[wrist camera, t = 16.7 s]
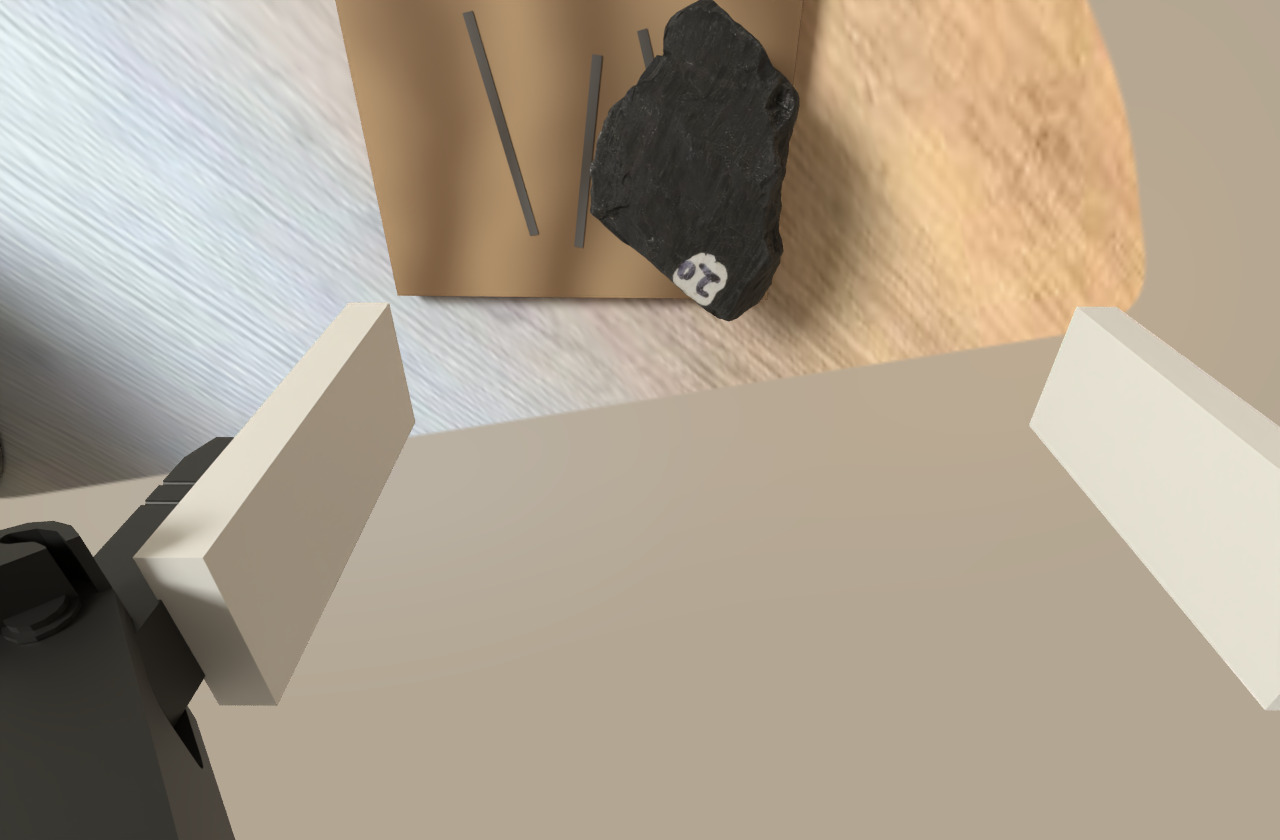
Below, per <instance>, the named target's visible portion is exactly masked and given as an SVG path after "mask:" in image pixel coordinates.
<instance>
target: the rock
mask: <svg viewBox="0 0 1280 840" xmlns="http://www.w3.org/2000/svg"><path fill="white" fill-rule="evenodd" d="M798 110H799V95H798V93H797V91H796V90H795V89H794V87H793V86H792V84H791V83H790V82H789V80H788V79H787V77H786V76H785V75H784V74H783V73H781V72H780V71H779V70H777V69H776V68H775V67H773V65H772V63H771V61H770V59H769V57H768V55H767V53H766V50H765V49H764V47H763V46H762V44H761V43H760V41H759V40H757V39H756V38H755V37H754V36H753V35H752V34H751V33H750V32H748V31H747V30H746V29H745V28H744V27H743V26H742V25H740V24H739V23H737V22H735V21H734V20H733V19H732V18H731V16H730V15H729V14H728V13H727V12H726V11H725V10H724V9H722V8H721V7H720V6H719V5H718V4H717V3H716V2H715V1H714V0H698V1H696V2H694V3H692V4H690V5H688V6H687V7H685V8H683V9H682V10H680V11H678V12H676V13H675V14H674V15H673V16H672V17H671V18H670V19H669V21H668V23H667V25H666V26H665V30H664V37H663V55H662V56H661V55H657V56H656V57H655V58H654V59H653V61H652V62H651V63H650V65H649V66H648V67H647V68H646V70H645V71H644V72H643V74H642V75H641V76H640V78H639V80H638V82H637V84H636V85H634V86H632V87H631V88H630V89H629V90H628V91H627V93H626V95H625V96H624V97H623V98H622V99H620V100H619V101H618V102H616V103H615V104H614V105H613V106H612V107H611V108H610V110H609V111H608V115H607V117H606V119H605V120H604V122H603V127H602V130H601V132H600V133H599V135H598V139H597V143H596V151H595V157H594V160H593V161H592V163H591V167H590V175H591V180H592V185H591V189H590V195H591V206H590V213H591V214H592V215H593V216H594V217H595V218H597V219H598V220H599V221H600V222H601V223H602V224H603V225H604V226H605V227H606V228H607V229H608V230H609V231H611V232H612V233H613V234H614V235H615V236H616V237H617V238H618V239H619V240H621V241H622V242H623V243H625V244H627V245H629V246H630V247H632V248H633V249H634V250H636V251H637V252H638V253H640V254H641V255H642V256H644V257H645V258H646V259H647V260H648V261H649V262H651V263H652V264H653V265H654V266H655V267H656V268H657V269H658V270H659V271H660V272H661V273H662V274H664V275H665V276H666V277H667V278H669V280H670V281H671V282H673V283H674V284H675V285H676V286H677V287H678V288H679V289H681V290H682V291H683V292H684V293H685V294H686V295H687V296H689V297H691V298H692V299H694V300H695V301H696V302H697V303H698V304H699V305H700V306H701V307H702V308H704V309H705V310H706V311H708V312H710V313H711V314H713V315H714V316H716V317H717V318H719V319H723V320H726V321H732V320H734V319H737V318H738V317H739V316H741V315H742V314H743V313H744V312H746V311H747V310H748V309H750V308H751V307H753V306H754V305H756V304H758V303H759V302H760V300H761V299H762V298H763V297H764V295H765V293H766V291H767V290H768V288H769V287H770V285H771V283H772V278H773V275H774V273H775V271H776V269H777V267H778V265H779V264H780V257H781V255H782V253H783V244H782V239H781V236H780V234H779V229H778V228H779V217H780V212H781V207H782V204H781V188H782V181H783V179H784V177H785V173H786V162H787V157H788V148H789V140H790V138H791V135H792V132H793V127H794V124H795V122H796V119H797V115H798Z"/></svg>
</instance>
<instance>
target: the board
mask: <svg viewBox="0 0 1280 840" xmlns="http://www.w3.org/2000/svg"><path fill="white" fill-rule="evenodd" d="M335 1H336V6H337V11H338V15H339V20H340V25H341V30H342V34H343V39H344V44H345V48H346V53H347V58H348V63H349V67H350V72H351V77H352V81H353V86H354V91H355V96H356V100H357V105H358V110H359V115H360V119H361V124H362V129H363V133H364V138H365V143H366V148H367V152H368V157H369V162H370V167H371V171H372V176H373V181H374V185H375V190H376V195H377V200H378V204H379V209H380V214H381V219H382V223H383V228H384V233H385V237H386V242H387V247H388V252H389V256H390V261H391V266H392V271H393V275H394V280H395V285H396V289H397V294H398V295H403V296H497V297H591V298H684V299H692V298H691V297H689V296H687V295H686V294H685V293H684V292H683V291H682V290H681V289H679V288H678V287H677V286H676V285H675V284H674V283H673V282H671V281H670V280H669V278H667V277H666V276H665V275H664V274H662V273H661V272H660V271H659V270H658V269H657V268H656V267H655V266H654V265H653V264H652V263H651V262H649V261H648V260H647V259H646V258H645V257H644V256H642V255H641V254H640V253H638V252H637V251H636V250H634V249H633V248H632V247H630V246H629V245H627V244H625V243H623V242H622V241H621V240H619V239H618V238H617V237H616V236H615V235H614V234H613V233H612V232H611V231H609V230H608V229H607V228H606V227H605V226H604V225H603V224H602V223H601V222H600V221H599V220H598V219H597V218H595V217H594V216H593V215H592V214H591V213H590V206H591V195H590V189H591V185H592V180H591V175H590V167H591V163H592V161H593V160H594V157H595V151H596V143H597V139H598V135H599V133H600V132H601V130H602V127H603V122H604V120H605V119H606V117H607V115H608V111H609V110H610V108H611V107H612V106H613V105H614V104H615V103H616V102H618V101H619V100H620V99H622V98H623V97H624V96H625V95H626V93H627V91H628V90H629V89H630V88H631V87H632V86H634V85H636V84H637V82H638V80H639V78H640V76H641V75H642V74H643V72H644V71H645V70H646V68H647V67H648V66H649V65H650V63H651V62H652V61H653V59H654V58H655V57H656V56H657V55H661V56H662V55H663V37H664V30H665V26H666V25H667V23H668V21H669V19H670V18H671V17H672V16H673V15H674V14H675V13H676V12H678V11H680V10H682V9H683V8H685V7H687V6H688V5H690V4H692V3H694V2H696V1H698V0H335ZM714 1H715V2H716V3H717V4H718V5H719V6H720V7H721V8H722V9H724V10H725V11H726V12H727V13H728V14H729V15H730V16H731V18H732V19H733V20H734V21H735V22H737V23H739V24H740V25H742V26H743V27H744V28H745V29H746V30H747V31H748V32H750V33H751V34H752V35H753V36H754V37H755V38H756V39H757V40H759V41H760V43H761V44H762V46H763V47H764V49H765V50H766V53H767V55H768V57H769V59H770V61H771V63H772V65H773V67H775V68H776V69H777V70H779V71H780V72H781V73H783V74H784V75H785V76H786V77H787V79H788V80H789V82H790V83H791V84H792V86H793V80H794V72H795V64H796V55H797V47H798V39H799V31H800V22H801V14H802V6H803V0H714ZM767 296H768V290H767V291H766V293H765V295H764V297H763V298H762V299H767Z"/></svg>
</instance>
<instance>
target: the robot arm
mask: <svg viewBox="0 0 1280 840" xmlns="http://www.w3.org/2000/svg"><path fill="white" fill-rule="evenodd" d="M414 424H415V418H414V414H413V409H412V405H411V400H410V396H409V391H408V387H407V382H406V378H405V373H404V368H403V364H402V359H401V355H400V350H399V346H398V341H397V337H396V332H395V328H394V323H393V319H392V314H391V310H390V305H389V303H348V304H347V305H346V306H345V308H344V309H343V310H342V311H341V312H340V314H339V315H338V316H337V317H336V318H335V319H334V321H333V322H332V323H331V324H330V325H329V327H328V328H327V329H326V330H325V331H324V332H323V334H322V335H321V336H320V337H319V338H318V340H317V341H316V342H315V343H314V344H313V345H312V347H311V348H310V349H309V350H308V351H307V353H306V354H305V355H304V356H303V357H302V358H301V360H300V361H299V362H298V363H297V364H296V365H295V367H294V368H293V369H292V370H291V371H290V373H289V374H288V375H287V376H286V377H285V378H284V380H283V381H282V382H281V383H280V384H279V386H278V387H277V388H276V389H275V390H274V391H273V393H272V394H271V395H270V396H269V397H268V399H267V400H266V401H265V402H264V403H263V404H262V406H261V407H260V408H259V409H258V410H257V412H256V413H255V414H254V415H253V416H252V417H251V419H250V420H249V421H248V422H247V423H246V424H245V426H244V427H243V428H242V429H241V430H240V432H239V433H238V434H237V435H236V436H235V437H216V438H214V439H213V440H211V441H210V442H208V443H206V444H205V445H203V446H202V447H200V448H198V449H197V450H195V451H194V452H192V453H191V454H189V455H187V456H186V457H184V458H183V460H182V461H181V462H180V463H179V464H178V465H177V466H176V467H175V468H174V469H173V471H172V472H171V473H170V474H169V475H168V476H167V477H166V478H165V479H164V480H163V482H164V483H163V485H159V486H158V487H157V488H156V489H155V490H154V491H153V492H152V494H151V495H150V496H149V497H148V498H147V499H146V500H145V501H146V504H145V505H141V506H140V507H139V508H138V509H137V510H136V511H135V512H134V513H133V514H132V515H131V516H130V518H129V519H128V520H127V521H126V522H125V523H124V524H123V525H122V526H121V528H120V529H119V530H118V531H117V532H116V533H115V534H114V535H113V536H112V537H111V538H110V540H109V541H108V542H107V543H106V544H105V545H104V546H103V547H102V549H100V550H99V552H98V553H97V554H96V555H95V556H94V557H93V556H92V555H91V553H90V551H89V550H88V548H87V547H86V545H85V544H84V542H83V540H82V539H81V537H80V536H79V534H78V533H77V532H76V531H75V529H74V528H73V527H72V526H71V525H67V524H63V523H59V522H55V521H47V522H32V523H26V524H22V525H19V526H15V527H11V528H7V529H4V530H0V840H235V838H234V835H233V832H232V829H231V825H230V823H229V820H228V816H227V813H226V810H225V807H224V804H223V801H222V798H221V795H220V792H219V789H218V786H217V782H216V779H215V777H214V773H213V770H212V767H211V764H210V761H209V758H208V755H207V752H206V749H205V746H204V743H203V740H202V737H201V733H200V730H199V727H198V724H197V721H196V719H195V717H194V716H193V714H192V712H191V711H190V709H189V708H188V706H187V705H188V704H189V702H190V700H191V699H192V697H193V695H194V694H195V692H196V690H197V689H198V687H199V685H200V684H201V682H202V681H203V679H204V680H205V681H206V683H207V685H208V686H209V688H210V690H211V691H212V693H213V695H214V697H215V698H216V700H217V702H218V703H219V705H278V703H279V701H280V699H281V697H282V695H283V693H284V691H285V688H286V687H287V685H288V683H289V681H290V678H291V676H292V674H293V672H294V670H295V668H296V666H297V664H298V662H299V660H300V658H301V656H302V654H303V652H304V650H305V648H306V646H307V644H308V641H309V639H310V637H311V635H312V633H313V631H314V629H315V627H316V625H317V623H318V621H319V619H320V617H321V615H322V612H323V611H324V608H325V607H326V604H327V602H328V600H329V598H330V596H331V594H332V592H333V590H334V588H335V586H336V584H337V582H338V580H339V578H340V576H341V574H342V572H343V569H344V567H345V565H346V563H347V561H348V559H349V557H350V555H351V553H352V551H353V549H354V547H355V545H356V543H357V541H358V539H359V537H360V535H361V533H362V530H363V528H364V526H365V524H366V522H367V520H368V518H369V516H370V514H371V512H372V510H373V508H374V506H375V504H376V502H377V500H378V498H379V496H380V494H381V491H382V489H383V487H384V485H385V483H386V481H387V479H388V477H389V475H390V473H391V471H392V469H393V467H394V464H395V463H396V461H397V459H398V456H399V454H400V452H401V450H402V448H403V446H404V444H405V442H406V440H407V438H408V436H409V434H410V432H411V430H412V428H413V426H414ZM1029 426H1030V427H1031V428H1032V429H1033V431H1034V432H1035V433H1036V434H1037V436H1038V437H1039V438H1040V439H1041V440H1042V442H1043V443H1044V444H1045V445H1046V446H1047V448H1048V449H1049V450H1050V451H1051V452H1052V454H1053V455H1054V456H1055V457H1056V458H1057V460H1058V461H1059V462H1060V463H1061V464H1062V466H1063V467H1064V468H1065V469H1066V471H1067V472H1068V473H1069V474H1070V475H1071V477H1072V478H1073V479H1074V480H1075V481H1076V483H1077V484H1078V485H1079V486H1080V487H1081V489H1082V490H1083V491H1084V492H1085V493H1086V495H1087V496H1088V497H1089V498H1090V499H1091V501H1092V502H1093V503H1094V504H1095V505H1096V507H1097V508H1098V509H1099V510H1100V512H1101V513H1102V514H1103V515H1104V516H1105V518H1106V519H1107V520H1108V521H1109V522H1110V524H1111V525H1112V526H1113V527H1114V528H1115V530H1116V531H1117V532H1118V533H1119V535H1121V537H1122V538H1123V539H1124V541H1125V542H1126V543H1127V544H1128V545H1129V546H1130V548H1131V549H1132V550H1133V551H1134V552H1135V554H1136V555H1137V556H1138V557H1139V559H1140V560H1141V561H1142V562H1143V563H1144V565H1145V566H1146V567H1147V568H1148V569H1149V571H1150V572H1151V573H1152V574H1153V576H1154V577H1155V578H1156V579H1157V580H1158V582H1159V583H1160V584H1161V585H1162V586H1163V587H1164V589H1165V590H1166V591H1167V592H1168V594H1169V595H1170V596H1171V597H1172V598H1173V599H1174V601H1175V602H1176V603H1177V605H1178V606H1179V607H1180V608H1181V609H1182V611H1183V612H1184V613H1185V614H1186V615H1187V616H1188V618H1189V619H1190V620H1191V621H1192V622H1193V624H1194V625H1195V626H1196V627H1197V629H1198V630H1199V631H1200V632H1201V633H1202V634H1203V636H1204V637H1205V638H1206V639H1207V641H1208V642H1209V643H1210V644H1211V645H1212V647H1213V648H1214V649H1215V650H1216V652H1217V653H1218V654H1219V655H1220V656H1221V657H1222V659H1223V660H1224V661H1225V662H1226V664H1227V665H1228V666H1229V667H1230V668H1231V670H1232V671H1233V672H1234V673H1235V675H1236V676H1237V677H1238V678H1239V679H1240V681H1241V682H1242V683H1243V684H1244V685H1245V687H1246V688H1247V689H1248V690H1249V691H1250V692H1251V694H1252V695H1253V696H1254V697H1255V699H1256V700H1257V701H1258V702H1259V703H1260V705H1261V706H1262V707H1263V708H1264V710H1280V427H1279V426H1278V425H1276V424H1275V423H1274V422H1272V421H1271V420H1270V419H1268V418H1267V417H1265V416H1264V415H1263V414H1261V413H1260V412H1259V411H1257V410H1256V409H1255V408H1253V407H1252V406H1251V405H1249V404H1248V403H1247V402H1245V401H1244V400H1242V399H1241V398H1240V397H1238V396H1237V395H1235V394H1234V393H1233V392H1232V391H1230V390H1229V389H1227V388H1226V387H1225V386H1223V385H1222V384H1221V383H1219V382H1218V381H1216V380H1215V379H1214V378H1213V377H1211V376H1210V375H1208V374H1207V373H1206V372H1204V371H1203V370H1202V369H1200V368H1199V367H1198V366H1196V365H1195V364H1193V363H1192V362H1191V361H1189V360H1188V359H1187V358H1185V357H1184V356H1183V355H1181V354H1180V353H1179V352H1177V351H1176V350H1174V349H1173V348H1172V347H1170V346H1169V345H1168V344H1166V343H1165V342H1163V341H1162V340H1161V339H1159V338H1158V337H1157V336H1155V335H1154V334H1153V333H1151V332H1150V331H1149V330H1147V329H1146V328H1145V327H1143V326H1142V325H1140V324H1139V323H1138V322H1136V321H1135V320H1134V319H1132V318H1131V317H1130V316H1128V315H1127V314H1126V313H1124V312H1123V311H1121V310H1120V309H1119V308H1117V307H1076V310H1075V312H1074V315H1073V317H1072V320H1071V322H1070V325H1069V327H1068V330H1067V332H1066V335H1065V337H1064V340H1063V342H1062V345H1061V347H1060V350H1059V352H1058V355H1057V357H1056V360H1055V362H1054V365H1053V367H1052V369H1051V372H1050V375H1049V377H1048V379H1047V382H1046V384H1045V387H1044V389H1043V392H1042V394H1041V397H1040V399H1039V402H1038V404H1037V407H1036V409H1035V412H1034V414H1033V417H1032V419H1031V422H1030V424H1029ZM2 469H3V456H2V450H1V446H0V478H1V474H2Z"/></svg>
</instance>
